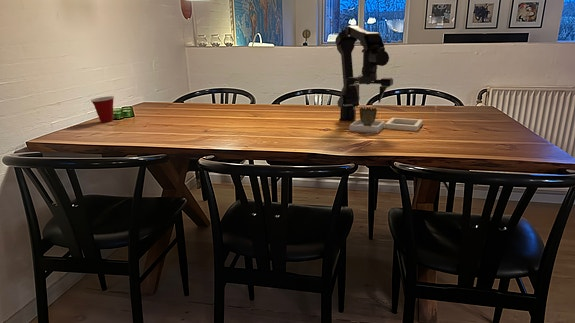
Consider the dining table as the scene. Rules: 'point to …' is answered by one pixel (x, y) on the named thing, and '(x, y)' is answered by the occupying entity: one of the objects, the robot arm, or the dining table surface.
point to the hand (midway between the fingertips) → (368, 101)
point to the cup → (368, 116)
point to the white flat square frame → (415, 127)
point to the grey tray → (374, 128)
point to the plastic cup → (104, 108)
